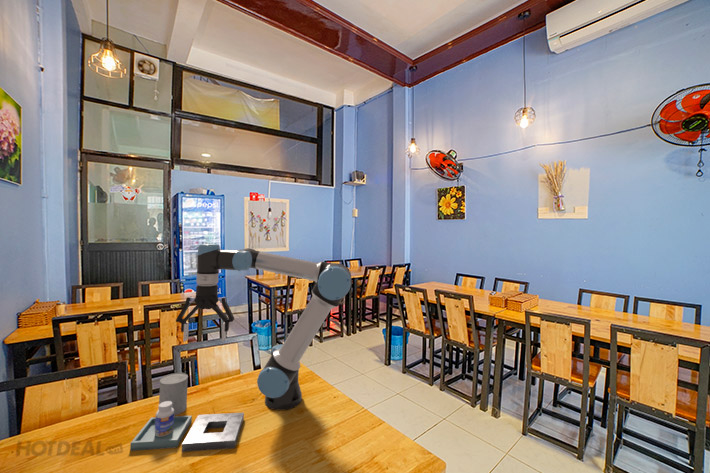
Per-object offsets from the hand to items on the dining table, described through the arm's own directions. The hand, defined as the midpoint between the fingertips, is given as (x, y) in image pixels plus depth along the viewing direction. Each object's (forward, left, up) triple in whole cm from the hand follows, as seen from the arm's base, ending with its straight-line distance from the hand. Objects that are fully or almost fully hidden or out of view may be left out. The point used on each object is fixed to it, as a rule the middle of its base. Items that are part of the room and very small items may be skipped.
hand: (204, 340), depth 118 cm
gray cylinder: (+12, -5, -29) cm, 32 cm away
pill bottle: (+9, +11, -28) cm, 31 cm away
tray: (+9, +11, -29) cm, 32 cm away
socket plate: (-8, +12, -29) cm, 32 cm away
